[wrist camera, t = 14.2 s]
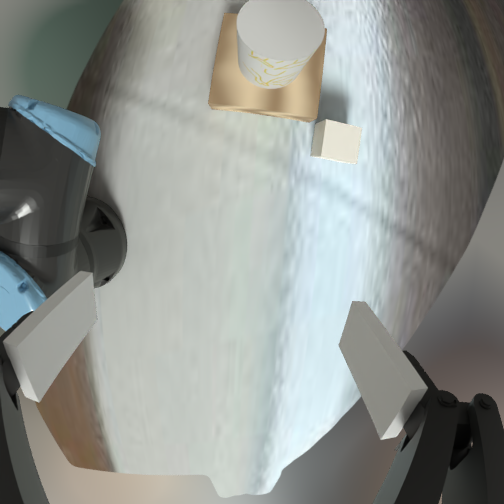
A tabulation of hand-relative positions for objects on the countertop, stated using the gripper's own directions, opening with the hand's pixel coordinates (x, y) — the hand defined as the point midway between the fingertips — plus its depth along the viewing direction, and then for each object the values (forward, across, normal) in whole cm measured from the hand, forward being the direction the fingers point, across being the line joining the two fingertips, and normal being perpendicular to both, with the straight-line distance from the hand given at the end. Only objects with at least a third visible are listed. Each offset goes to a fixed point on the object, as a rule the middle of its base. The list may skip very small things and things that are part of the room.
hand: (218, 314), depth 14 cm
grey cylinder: (+26, +2, +21) cm, 33 cm away
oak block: (+31, +2, +21) cm, 37 cm away
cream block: (+31, +13, +11) cm, 35 cm away
